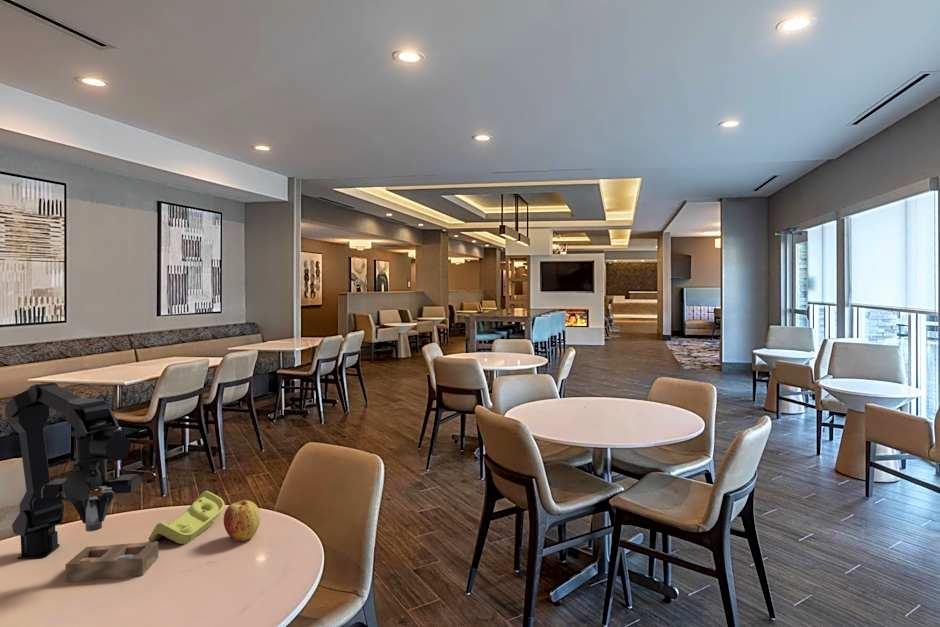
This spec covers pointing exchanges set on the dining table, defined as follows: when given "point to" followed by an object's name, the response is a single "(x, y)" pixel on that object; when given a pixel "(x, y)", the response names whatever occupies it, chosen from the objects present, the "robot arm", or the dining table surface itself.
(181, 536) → the plastic component
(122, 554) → the board
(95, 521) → the plug
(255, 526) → the apple
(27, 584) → the dining table surface
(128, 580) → the dining table surface
